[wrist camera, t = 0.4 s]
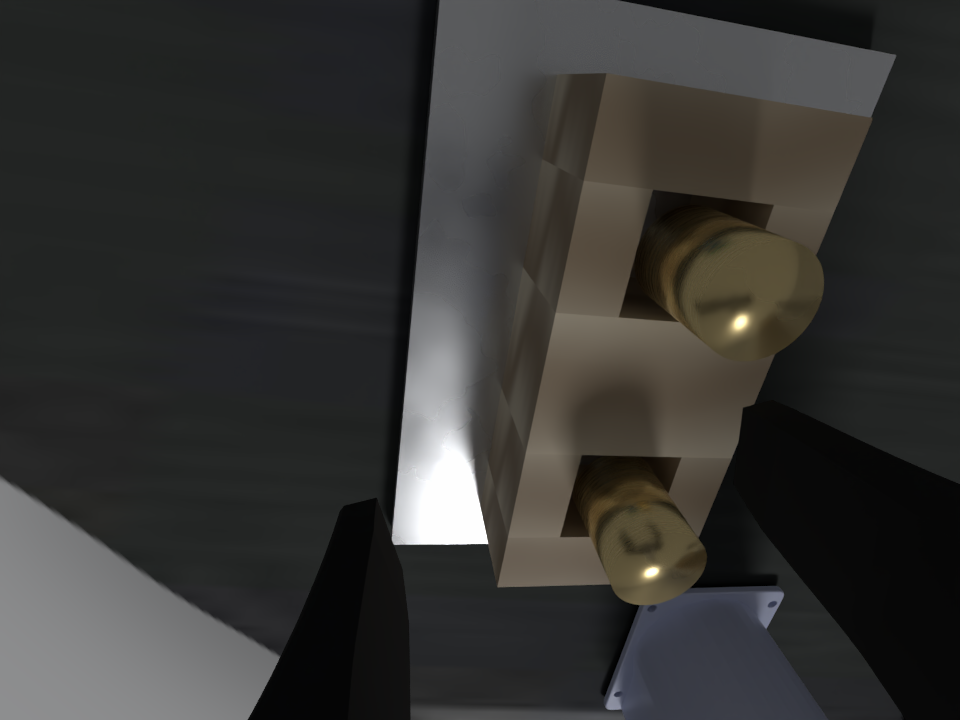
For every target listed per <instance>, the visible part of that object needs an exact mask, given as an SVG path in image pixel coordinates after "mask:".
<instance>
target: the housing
mask: <svg viewBox="0 0 960 720" xmlns="http://www.w3.org/2000/svg"><path fill="white" fill-rule="evenodd" d="M872 120H873V118H870V117H864V116H858V115H852V114H846V113H840V112H834V111H828V110H823V109H817V108H811V107H805V106H799V105H793V104H787V103H781V102H775V101H769V100H763V99H757V98H751V97H745V96H739V95H734V94H728V93H722V92H716V91H710V90H704V89H698V88H692V87H686V86H680V85H674V84H668V83H662V82H656V81H650V80H644V79H639V78H633V77H627V76H621V75H615V74H609V73H592V74H557V78H556V84H555V90H554V95H553V101H552V106H551V112H550V118H549V123H548V129H547V135H546V140H545V146H544V152H543V157H542V163H541V168H540V174H539V180H538V185H537V191H536V197H535V202H534V208H533V214H532V219H531V225H530V230H529V236H528V242H527V247H526V253H525V259H524V264H523V270H522V276H521V281H520V287H519V293H518V298H517V304H516V309H515V315H514V321H513V326H512V332H511V338H510V343H509V349H508V355H507V360H506V366H505V371H504V377H503V383H502V388H501V394H500V400H499V405H498V411H497V417H496V422H495V428H494V433H493V439H492V445H491V450H490V456H489V462H488V467H487V473H486V479H485V484H484V490H483V495H482V501H481V507H480V509H481V513H482V518H483V523H484V527H485V532H486V536H487V541H488V546H489V550H490V555H491V560H492V564H493V569H494V574H495V578H496V583H497V587H523V586H561V585H600V584H610V582H609V579H608V577H607V575H606V573H605V570H604V568H603V566H602V563H601V561H600V559H599V557H598V554H597V552H596V550H595V548H594V545H593V543H592V541H591V538H590V536H589V534H588V532H587V529H586V527H585V525H584V523H583V520H582V518H581V516H580V514H579V511H578V509H577V507H576V504H575V502H574V499H573V486H574V483H575V481H576V479H577V477H578V475H579V474H580V473H581V471H582V470H583V469H584V468H585V467H586V466H587V465H579V464H580V460H581V456H582V455H602V456H639V457H641V458H643V459H644V460H645V461H646V462H647V463H648V465H649V466H650V468H651V469H652V470H653V472H654V473H655V475H656V476H657V478H658V479H659V481H660V482H661V484H662V485H663V487H664V488H665V490H666V491H667V493H668V494H669V496H670V497H671V499H672V500H673V502H674V503H675V505H676V506H677V507H678V509H679V510H680V512H681V513H682V515H683V516H684V518H685V519H686V521H687V522H688V524H689V525H690V527H691V528H692V530H693V531H694V533H695V534H696V536H697V537H698V538H699V536H700V533H701V531H702V528H703V526H704V524H705V521H706V519H707V516H708V514H709V512H710V509H711V507H712V504H713V502H714V500H715V497H716V495H717V492H718V490H719V488H720V485H721V483H722V480H723V478H724V476H725V473H726V471H727V468H728V466H729V463H730V461H731V459H732V456H733V454H734V451H735V449H736V447H737V444H738V442H739V434H740V426H741V419H742V411H743V407H746V406H751V405H754V403H755V401H756V399H757V396H758V394H759V391H760V389H761V387H762V384H763V382H764V379H765V377H766V375H767V372H768V370H769V367H770V365H771V363H772V360H773V358H774V355H775V354H773V355H771V356H768V357H766V358H763V359H759V360H754V361H734V360H730V359H727V358H724V357H722V356H720V355H719V354H717V353H716V352H715V351H713V350H712V349H711V348H710V347H709V346H707V345H706V344H705V343H704V342H703V341H701V340H700V339H699V338H698V337H697V336H695V335H694V334H693V333H692V332H691V331H689V330H688V329H687V328H686V327H685V326H683V325H682V324H681V323H680V322H679V321H677V320H676V319H675V318H674V317H673V316H671V315H670V314H669V313H668V312H667V311H665V310H664V309H663V308H662V307H661V306H660V305H658V304H657V303H656V302H655V301H654V300H652V299H651V298H650V297H649V296H648V295H647V294H646V293H644V291H643V290H642V289H641V287H640V285H639V284H638V281H637V278H635V277H630V273H631V270H632V266H633V262H634V258H635V255H636V251H637V247H638V244H639V240H640V236H641V232H642V229H643V225H644V221H645V217H646V214H647V210H648V206H649V202H650V199H651V195H652V191H653V190H660V191H668V192H676V193H684V194H692V198H691V201H690V204H689V205H692V204H696V205H703V206H707V207H710V208H712V209H715V210H717V211H720V212H722V213H725V214H727V215H730V216H732V217H735V218H737V219H740V220H742V221H745V222H747V223H750V224H752V225H755V226H757V227H760V228H762V229H765V230H767V231H770V232H772V233H775V234H777V235H780V236H782V237H785V238H787V239H790V240H792V241H795V242H797V243H800V244H802V245H804V246H805V247H807V248H809V249H810V250H811V251H812V252H813V253H814V254H815V256H816V254H817V252H818V250H819V247H820V245H821V242H822V240H823V238H824V235H825V233H826V230H827V228H828V225H829V223H830V221H831V218H832V216H833V213H834V211H835V209H836V206H837V204H838V201H839V199H840V197H841V194H842V192H843V189H844V187H845V185H846V182H847V180H848V177H849V175H850V173H851V170H852V168H853V165H854V163H855V161H856V158H857V156H858V153H859V151H860V149H861V146H862V144H863V141H864V139H865V137H866V134H867V132H868V129H869V127H870V125H871V122H872Z"/></svg>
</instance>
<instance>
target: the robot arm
mask: <svg viewBox="0 0 960 720" xmlns="http://www.w3.org/2000/svg"><path fill="white" fill-rule="evenodd" d="M733 484H734V486H735V487H736V489H737V491H738V492H739V494H740V496H741V497H742V499H743V501H744V502H745V504H746V506H747V507H748V509H749V510H750V512H751V514H752V515H753V517H754V518H755V520H756V521H757V523H758V524H759V526H760V528H761V529H762V530H763V532H764V533H765V534H766V536H767V537H768V538H769V539H770V541H771V542H772V543H773V544H774V546H775V547H776V548H777V549H778V551H779V552H780V553H781V554H782V556H783V557H784V558H785V559H786V561H787V562H788V563H789V564H790V566H791V567H792V568H793V569H794V571H795V572H796V573H797V574H798V575H799V577H800V578H801V579H802V580H803V582H804V583H805V584H806V585H807V586H808V588H809V589H810V590H811V591H812V593H813V594H814V595H815V596H816V597H817V599H818V600H819V601H820V602H821V604H822V605H823V606H824V607H825V609H826V610H827V611H828V612H829V613H830V615H831V616H832V617H833V618H834V620H835V621H836V622H837V623H838V624H839V626H840V627H841V628H842V629H843V631H844V632H845V633H846V634H847V636H848V637H849V638H850V640H851V641H852V642H853V644H854V645H855V646H856V648H857V649H858V650H859V652H860V653H861V654H862V656H863V657H864V658H865V660H866V661H867V663H868V664H869V666H870V667H871V669H872V670H873V672H874V673H875V675H876V676H877V678H878V679H879V681H880V682H881V684H882V685H883V686H884V688H885V689H886V691H887V692H888V694H889V695H890V697H891V698H892V700H893V701H894V703H895V704H896V706H897V707H898V709H899V710H900V712H901V713H902V715H903V716H904V718H905V719H906V720H960V484H958V483H956V482H953V481H951V480H948V479H946V478H944V477H941V476H939V475H936V474H934V473H932V472H929V471H927V470H925V469H922V468H920V467H918V466H915V465H913V464H911V463H909V462H906V461H904V460H902V459H900V458H897V457H895V456H893V455H891V454H889V453H886V452H884V451H882V450H880V449H878V448H875V447H873V446H871V445H869V444H867V443H865V442H863V441H860V440H858V439H856V438H854V437H852V436H850V435H848V434H845V433H843V432H841V431H839V430H837V429H835V428H833V427H831V426H829V425H826V424H824V423H822V422H820V421H818V420H816V419H814V418H812V417H809V416H807V415H805V414H803V413H801V412H799V411H796V410H794V409H792V408H790V407H787V406H785V405H783V404H780V403H778V402H776V401H773V400H771V401H767V402H763V403H759V404H755V405H751V406H746V407H743V411H742V419H741V426H740V434H739V442H738V450H737V458H736V466H735V474H734V482H733ZM783 596H784V592H783V591H782V590H781V588H780V587H778V586H748V587H713V588H689V589H688V590H687V591H685V592H684V593H682V594H681V595H679V596H677V597H675V598H673V599H671V600H668V601H665V602H662V603H658V604H653V605H640V606H639V608H638V611H637V614H636V616H635V619H634V621H633V624H632V627H631V629H630V632H629V635H628V637H627V640H626V642H625V645H624V648H623V650H622V653H621V656H620V658H619V661H618V663H617V666H616V669H615V671H614V674H613V677H612V679H611V682H610V685H609V687H608V690H607V692H606V695H605V698H604V704H605V707H606V708H607V709H609V710H617V709H622V712H623V714H624V717H625V720H828V719H827V717H826V716H825V714H824V713H823V711H822V710H821V708H820V707H819V706H818V704H817V703H816V701H815V700H814V698H813V697H812V695H811V694H810V692H809V691H808V690H807V688H806V687H805V685H804V684H803V682H802V681H801V679H800V678H799V676H798V675H797V673H796V672H795V671H794V669H793V668H792V666H791V665H790V663H789V662H788V660H787V659H786V657H785V656H784V655H783V653H782V652H781V650H780V649H779V647H778V646H777V644H776V643H775V641H774V640H773V639H772V637H771V636H770V634H769V633H768V631H767V630H766V628H767V627H768V625H769V623H770V621H771V619H772V617H773V616H774V614H775V612H776V610H777V608H778V606H779V604H780V603H781V601H782V599H783ZM248 720H410V656H409V620H408V611H407V603H406V594H405V586H404V579H403V571H402V567H401V564H400V561H399V558H398V556H397V553H396V550H395V547H394V544H393V542H392V539H391V536H390V533H389V531H388V528H387V525H386V522H385V519H384V517H383V514H382V511H381V508H380V506H379V503H378V500H377V498H374V499H370V500H366V501H362V502H358V503H354V504H350V505H346V506H344V507H343V508H342V509H341V511H340V513H339V516H338V519H337V522H336V525H335V528H334V531H333V534H332V537H331V539H330V542H329V545H328V548H327V550H326V553H325V556H324V558H323V561H322V564H321V566H320V569H319V571H318V574H317V576H316V579H315V581H314V584H313V586H312V588H311V591H310V593H309V595H308V598H307V600H306V603H305V605H304V607H303V610H302V612H301V614H300V617H299V619H298V621H297V623H296V625H295V628H294V630H293V632H292V634H291V636H290V638H289V640H288V642H287V644H286V646H285V648H284V651H283V653H282V655H281V657H280V659H279V661H278V663H277V665H276V667H275V669H274V671H273V673H272V676H271V677H270V680H269V681H268V683H267V685H266V687H265V689H264V691H263V693H262V695H261V697H260V698H259V700H258V702H257V704H256V706H255V708H254V710H253V712H252V713H251V715H250V717H249V719H248Z"/></svg>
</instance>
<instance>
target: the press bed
mask: <svg viewBox="0 0 960 720" xmlns="http://www.w3.org/2000/svg"><path fill="white" fill-rule="evenodd" d="M895 58H896V55H893V54H888V53H883V52H878V51H873V50H867V49H862V48H857V47H852V46H847V45H842V44H837V43H832V42H827V41H822V40H817V39H812V38H807V37H801V36H796V35H791V34H786V33H781V32H776V31H771V30H766V29H761V28H756V27H751V26H746V25H741V24H735V23H730V22H725V21H720V20H715V19H710V18H705V17H700V16H695V15H690V14H685V13H680V12H675V11H669V10H664V9H659V8H654V7H649V6H644V5H639V4H634V3H629V2H624V1H619V0H437V7H436V19H435V30H434V42H433V53H432V65H431V76H430V88H429V99H428V111H427V122H426V134H425V145H424V157H423V168H422V180H421V191H420V203H419V214H418V225H417V237H416V248H415V260H414V271H413V283H412V294H411V306H410V317H409V329H408V340H407V352H406V363H405V375H404V386H403V398H402V409H401V421H400V432H399V444H398V455H397V467H396V478H395V490H394V501H393V513H392V524H391V539H392V542H393V544H394V545H403V544H488V541H487V536H486V532H485V527H484V523H483V518H482V513H481V509H480V507H481V501H482V495H483V490H484V484H485V479H486V473H487V467H488V462H489V456H490V450H491V445H492V439H493V433H494V428H495V422H496V417H497V411H498V405H499V400H500V394H501V388H502V383H503V377H504V371H505V366H506V360H507V355H508V349H509V343H510V338H511V332H512V326H513V321H514V315H515V309H516V304H517V298H518V293H519V287H520V281H521V276H522V270H523V264H524V259H525V253H526V247H527V242H528V236H529V230H530V225H531V219H532V214H533V208H534V202H535V197H536V191H537V185H538V180H539V174H540V168H541V163H542V157H543V152H544V146H545V140H546V135H547V129H548V123H549V118H550V112H551V106H552V101H553V95H554V90H555V84H556V78H557V74H592V73H609V74H615V75H621V76H627V77H633V78H639V79H644V80H650V81H656V82H662V83H668V84H674V85H680V86H686V87H692V88H698V89H704V90H710V91H716V92H722V93H728V94H734V95H739V96H745V97H751V98H757V99H763V100H769V101H775V102H781V103H787V104H793V105H799V106H805V107H811V108H817V109H823V110H828V111H834V112H840V113H846V114H852V115H858V116H864V117H870V118H871V116H872V113H873V111H874V108H875V106H876V103H877V101H878V99H879V96H880V94H881V91H882V89H883V87H884V84H885V82H886V79H887V77H888V74H889V72H890V70H891V67H892V65H893V62H894V60H895ZM691 198H692V194H684V193H676V192H668V191H660V190H653V191H652V195H651V199H650V202H649V206H648V210H647V214H646V217H645V221H644V225H643V229H642V232H641V236H640V240H639V243H640V241H641V239H642V237H643V235H644V234H645V232H646V231H647V229H648V228H649V227H650V226H651V225H652V224H653V223H654V222H655V221H656V220H657V219H658V218H659V217H660V216H662V215H663V214H665V213H666V212H668V211H670V210H672V209H674V208H677V207H680V206H684V205H689V204H690V201H691ZM638 245H639V244H638ZM637 248H638V247H637ZM635 256H636V255H635ZM634 264H635V258H634V262H633V266H632V270H631V273H630V277H635V278H636V275H635V265H634ZM600 457H602V455H582V456H581V460H580V464H579V465H589V464H590V463H591V462H593V461H594V460H596V459H598V458H600Z"/></svg>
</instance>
